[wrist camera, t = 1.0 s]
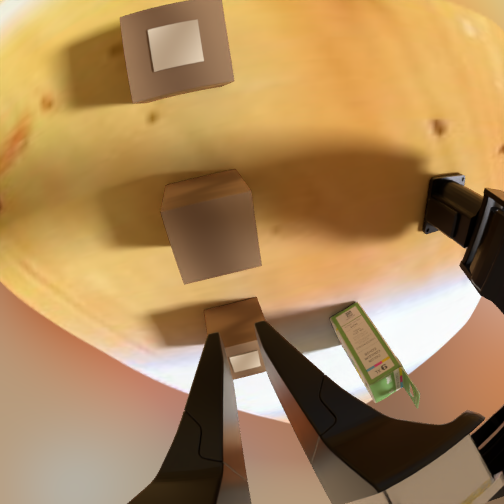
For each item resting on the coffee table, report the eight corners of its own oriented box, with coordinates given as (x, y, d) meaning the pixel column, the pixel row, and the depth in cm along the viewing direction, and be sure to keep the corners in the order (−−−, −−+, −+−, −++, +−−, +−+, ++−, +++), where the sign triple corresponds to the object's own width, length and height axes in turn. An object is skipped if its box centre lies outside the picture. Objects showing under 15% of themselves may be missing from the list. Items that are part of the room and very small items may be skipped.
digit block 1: (211, 21, 13) (221, -5, 9) (221, 86, 16) (234, 80, 11) (134, 37, 12) (117, 17, 8) (145, 103, 15) (130, 104, 11)
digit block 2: (256, 296, 25) (271, 336, 21) (262, 331, 28) (275, 369, 24) (202, 309, 25) (209, 352, 21) (214, 342, 27) (222, 382, 23)
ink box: (327, 317, 29) (384, 417, 18) (356, 299, 29) (422, 392, 18) (340, 345, 33) (387, 428, 22) (366, 329, 33) (418, 408, 22)
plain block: (235, 168, 19) (251, 190, 15) (245, 230, 22) (261, 265, 17) (165, 184, 18) (160, 212, 14) (182, 245, 21) (184, 284, 17)
